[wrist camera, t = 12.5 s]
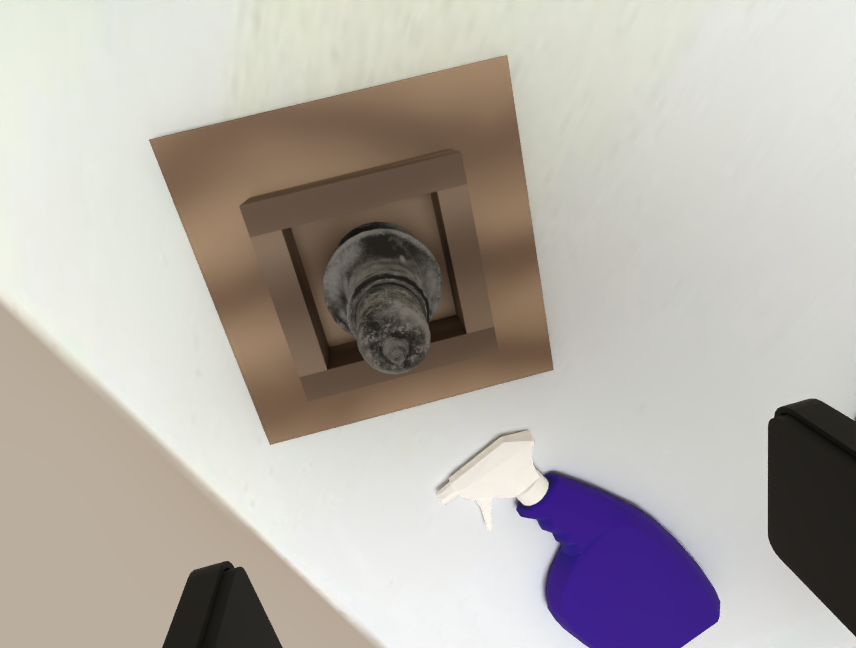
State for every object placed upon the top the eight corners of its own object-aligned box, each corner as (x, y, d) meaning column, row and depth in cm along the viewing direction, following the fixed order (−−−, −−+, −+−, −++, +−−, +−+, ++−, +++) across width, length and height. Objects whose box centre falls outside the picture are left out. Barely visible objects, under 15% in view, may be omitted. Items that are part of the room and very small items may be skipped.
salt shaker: (367, 338, 31) (377, 460, 20) (303, 257, 29) (275, 342, 18) (451, 281, 31) (510, 374, 20) (393, 194, 29) (421, 242, 17)
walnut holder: (548, 364, 34) (571, 392, 31) (271, 437, 34) (262, 475, 30) (503, 56, 28) (525, 47, 24) (154, 139, 27) (124, 142, 23)
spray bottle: (740, 610, 41) (552, 413, 33) (628, 690, 43) (421, 521, 35) (716, 579, 44) (536, 391, 36) (611, 656, 46) (416, 492, 38)
